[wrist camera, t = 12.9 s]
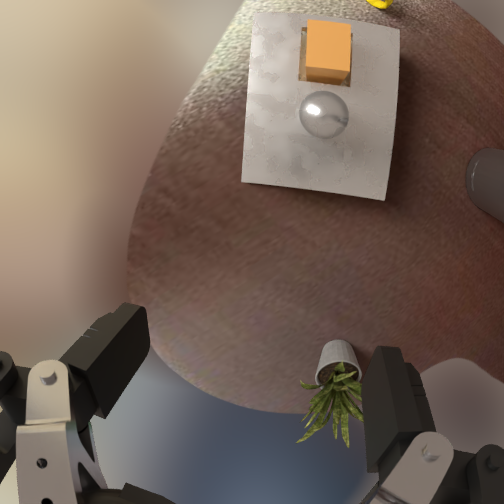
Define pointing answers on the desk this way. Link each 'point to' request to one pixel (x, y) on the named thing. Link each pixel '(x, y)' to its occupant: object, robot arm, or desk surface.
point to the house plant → (335, 388)
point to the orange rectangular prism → (327, 52)
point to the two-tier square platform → (320, 110)
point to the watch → (380, 3)
